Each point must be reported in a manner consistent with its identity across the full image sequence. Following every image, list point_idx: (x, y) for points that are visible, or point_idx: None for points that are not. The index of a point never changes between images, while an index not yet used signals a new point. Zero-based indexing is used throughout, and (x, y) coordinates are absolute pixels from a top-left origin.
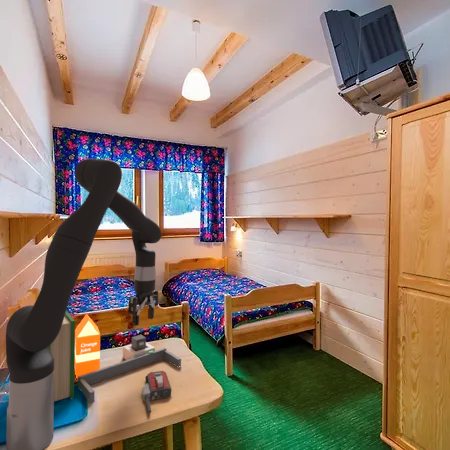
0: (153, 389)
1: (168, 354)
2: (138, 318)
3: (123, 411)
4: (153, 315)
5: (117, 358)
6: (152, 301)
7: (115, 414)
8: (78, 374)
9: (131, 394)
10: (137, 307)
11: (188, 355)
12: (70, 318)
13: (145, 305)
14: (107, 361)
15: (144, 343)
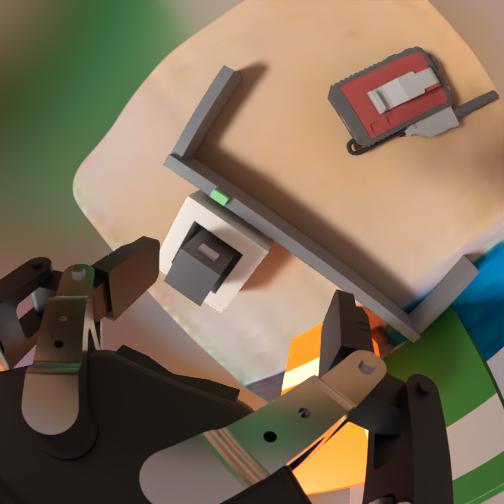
0: (446, 96)
1: (198, 130)
2: (349, 324)
3: (491, 163)
4: (134, 243)
5: (241, 304)
6: (59, 328)
7: (500, 178)
8: (376, 350)
9: (434, 169)
10: (332, 433)
11: (151, 87)
12: (491, 490)
13: (193, 380)
14: (267, 322)
15: (196, 242)
